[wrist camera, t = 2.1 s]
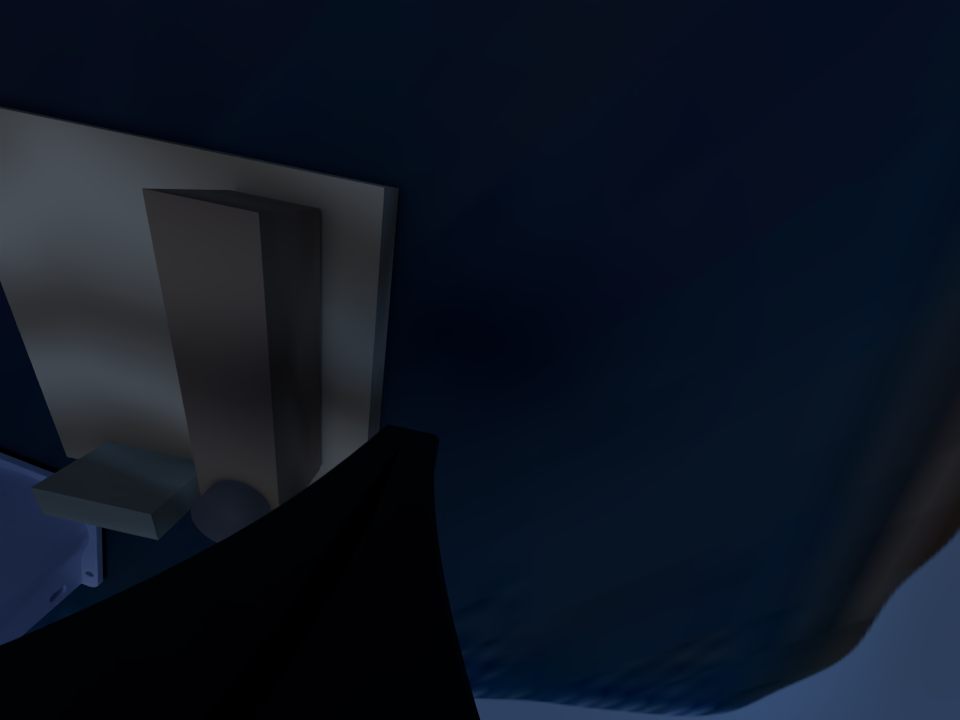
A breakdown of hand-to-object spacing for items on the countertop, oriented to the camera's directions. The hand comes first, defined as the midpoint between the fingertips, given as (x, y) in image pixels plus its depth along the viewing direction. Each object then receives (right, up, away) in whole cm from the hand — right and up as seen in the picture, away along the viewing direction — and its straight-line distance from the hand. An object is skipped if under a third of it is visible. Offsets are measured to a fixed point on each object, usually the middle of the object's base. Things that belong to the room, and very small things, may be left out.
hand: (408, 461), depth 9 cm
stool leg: (-6, +3, +5) cm, 8 cm away
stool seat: (-10, +4, +7) cm, 12 cm away
